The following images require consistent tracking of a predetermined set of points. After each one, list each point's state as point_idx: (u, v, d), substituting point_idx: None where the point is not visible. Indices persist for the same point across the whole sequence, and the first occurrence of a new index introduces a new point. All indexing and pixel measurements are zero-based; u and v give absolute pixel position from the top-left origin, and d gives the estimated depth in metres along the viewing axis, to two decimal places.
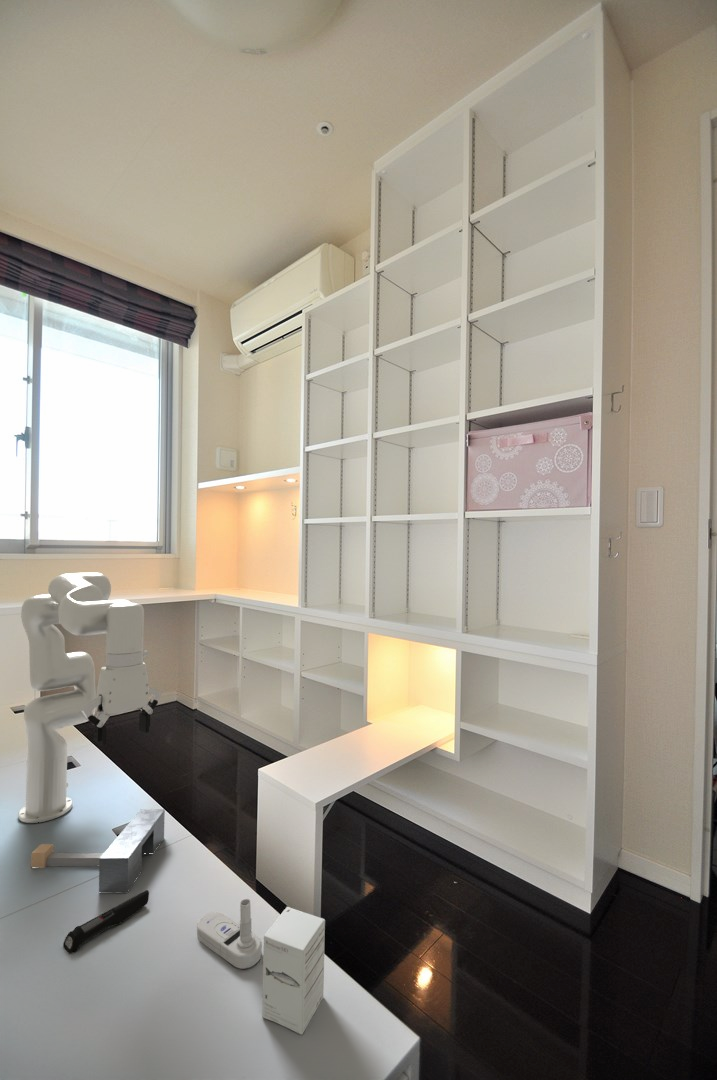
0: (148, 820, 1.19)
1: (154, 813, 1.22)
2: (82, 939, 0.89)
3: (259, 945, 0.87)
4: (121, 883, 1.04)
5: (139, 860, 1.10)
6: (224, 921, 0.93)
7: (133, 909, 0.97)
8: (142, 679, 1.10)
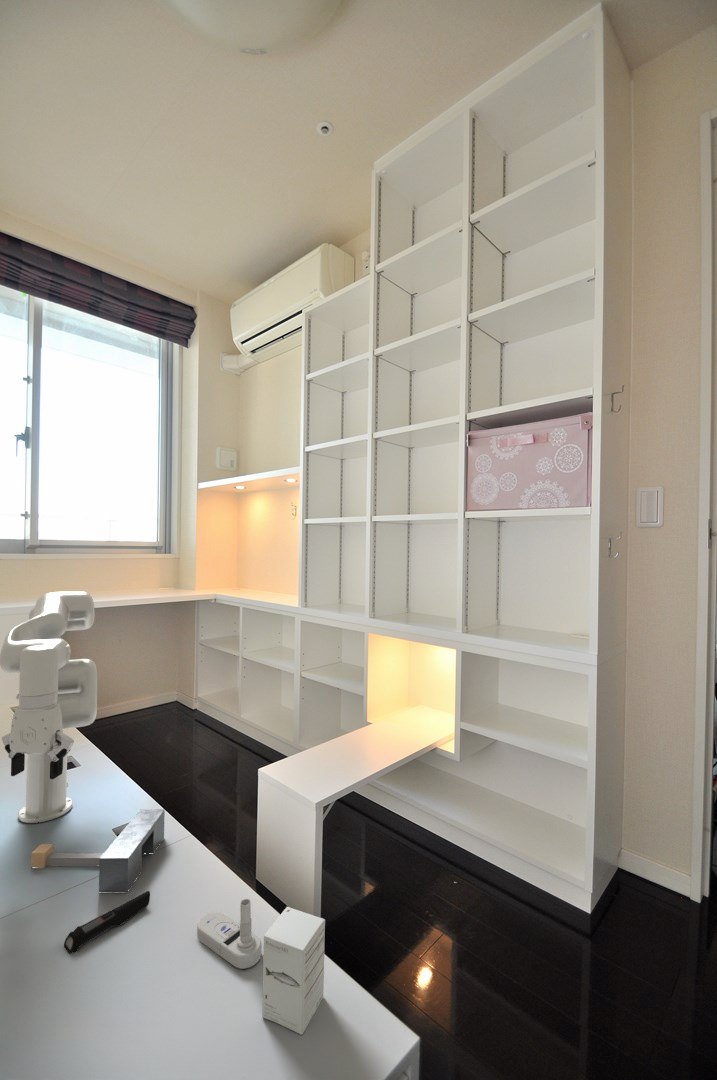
0: (148, 820, 1.19)
1: (154, 813, 1.22)
2: (82, 940, 0.89)
3: (259, 945, 0.87)
4: (121, 883, 1.04)
5: (139, 860, 1.10)
6: (224, 921, 0.93)
7: (134, 910, 0.97)
8: None
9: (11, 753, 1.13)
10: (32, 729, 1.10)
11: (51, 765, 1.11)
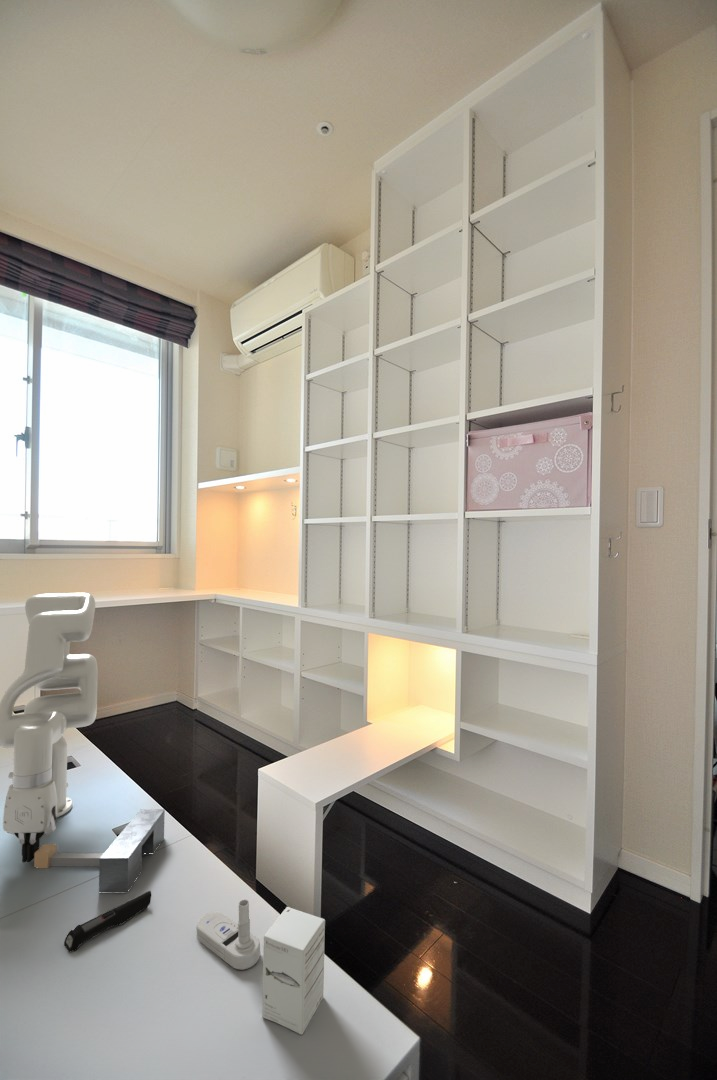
0: (148, 820, 1.19)
1: (154, 813, 1.22)
2: (82, 938, 0.90)
3: (257, 946, 0.87)
4: (121, 883, 1.04)
5: (139, 860, 1.10)
6: (224, 921, 0.93)
7: (135, 910, 0.97)
8: None
9: (20, 839, 1.12)
10: (28, 808, 1.11)
11: (28, 848, 1.12)
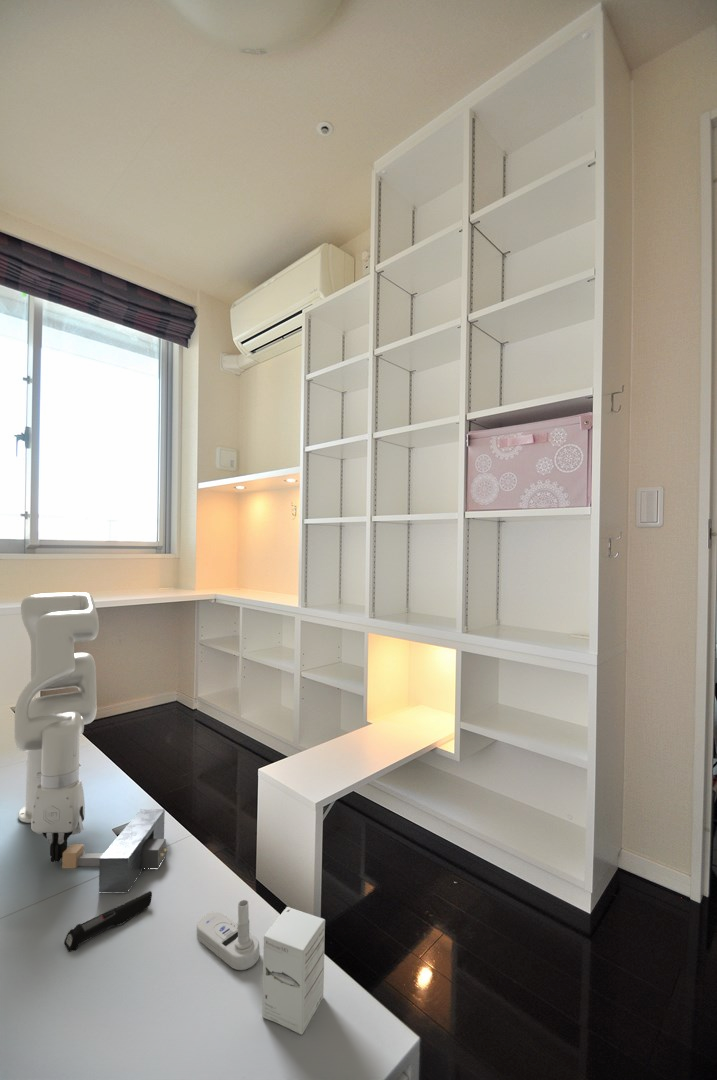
0: (148, 820, 1.19)
1: (154, 813, 1.22)
2: (82, 938, 0.90)
3: (257, 947, 0.87)
4: (121, 883, 1.04)
5: (139, 860, 1.10)
6: (224, 921, 0.93)
7: (135, 910, 0.97)
8: None
9: (48, 839, 1.12)
10: (56, 808, 1.11)
11: (56, 848, 1.12)
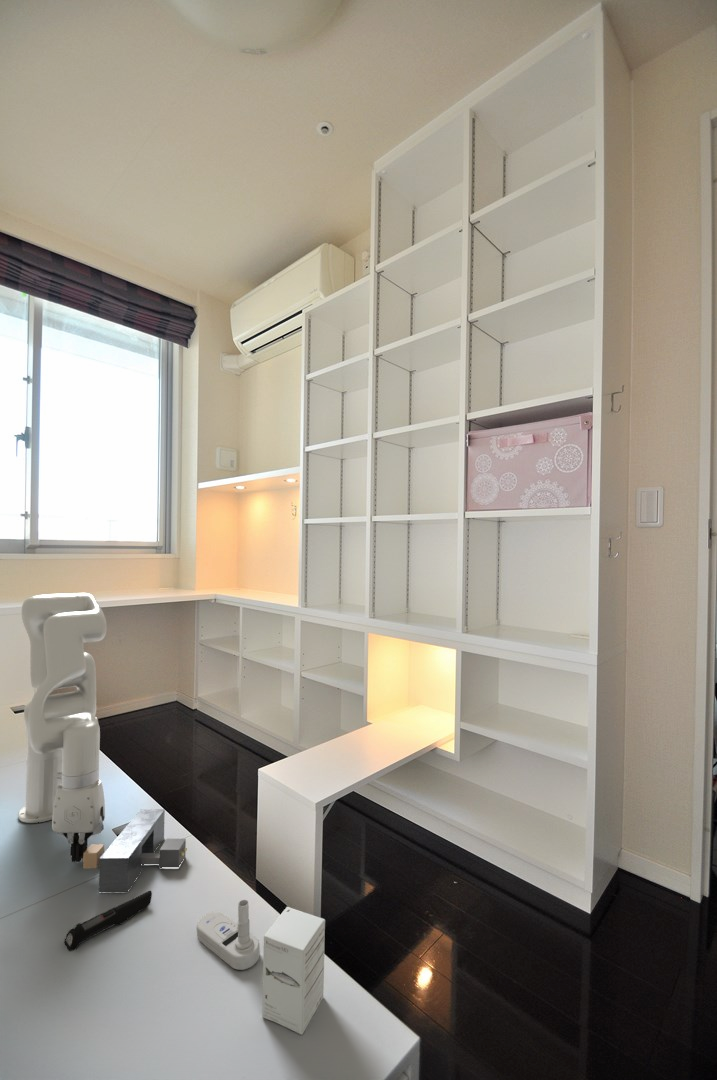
0: (148, 820, 1.19)
1: (154, 813, 1.22)
2: (82, 937, 0.90)
3: (257, 947, 0.87)
4: (121, 883, 1.04)
5: (139, 860, 1.10)
6: (224, 921, 0.93)
7: (135, 909, 0.97)
8: None
9: (69, 839, 1.12)
10: (77, 808, 1.11)
11: (77, 848, 1.12)
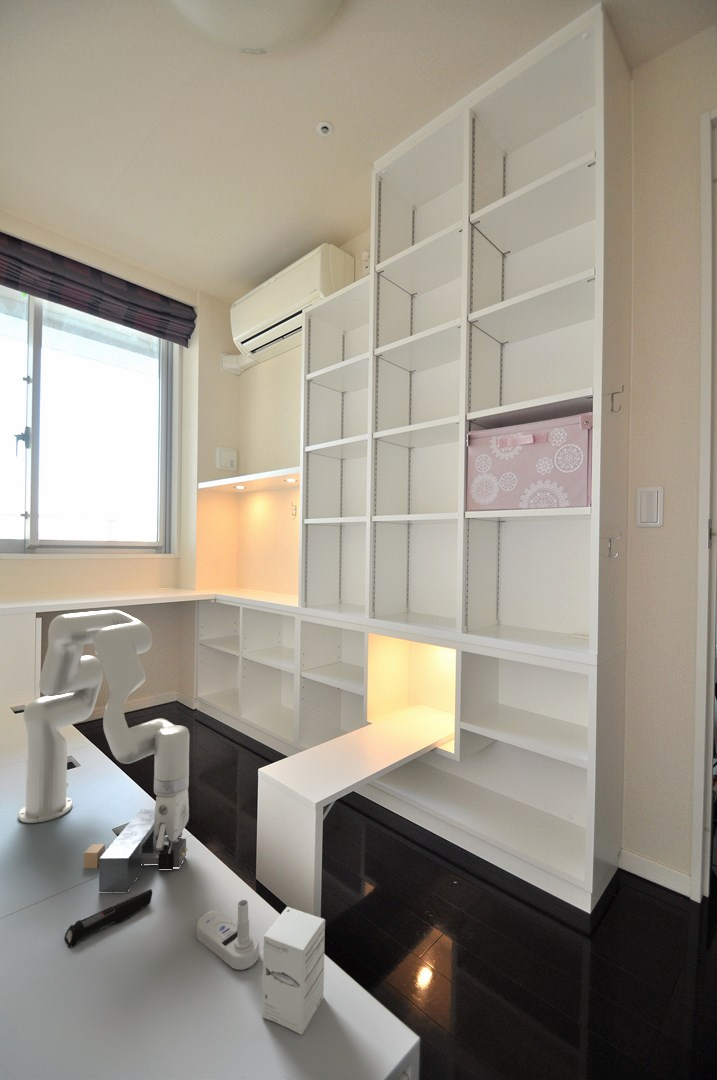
0: (148, 820, 1.19)
1: (154, 813, 1.22)
2: (81, 934, 0.91)
3: (256, 947, 0.87)
4: (121, 883, 1.04)
5: (139, 860, 1.10)
6: (224, 921, 0.93)
7: (135, 908, 0.98)
8: None
9: (171, 848, 1.11)
10: (184, 804, 1.15)
11: None
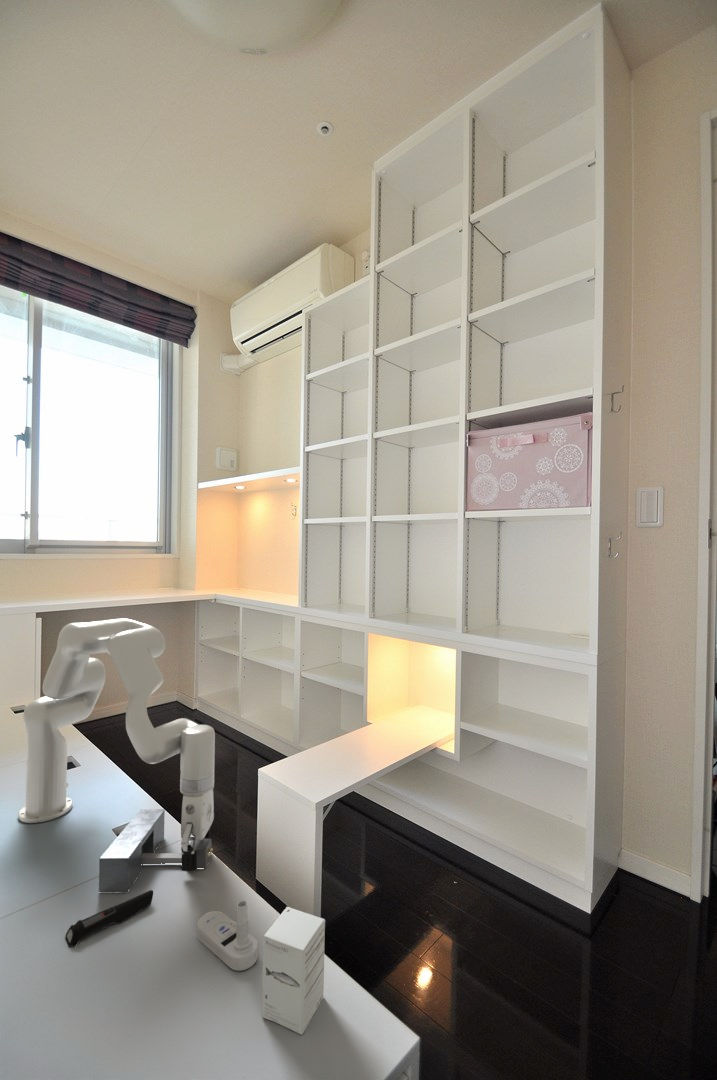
0: (148, 820, 1.19)
1: (154, 813, 1.22)
2: (81, 934, 0.91)
3: (255, 948, 0.86)
4: (121, 883, 1.04)
5: (139, 860, 1.10)
6: (224, 921, 0.93)
7: (136, 908, 0.98)
8: None
9: (194, 848, 1.09)
10: (210, 804, 1.15)
11: (209, 830, 1.19)
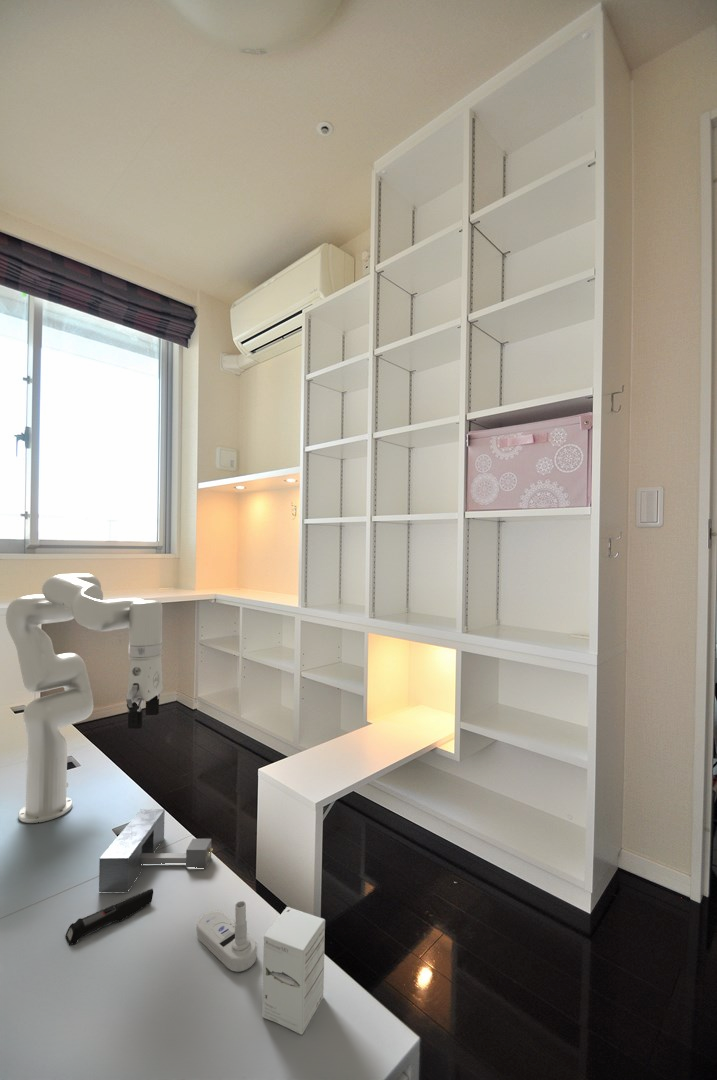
0: (148, 820, 1.19)
1: (154, 813, 1.22)
2: (82, 932, 0.91)
3: (254, 949, 0.86)
4: (121, 883, 1.04)
5: (139, 860, 1.10)
6: (223, 921, 0.93)
7: (136, 907, 0.98)
8: None
9: (140, 706, 1.16)
10: (158, 673, 1.23)
11: (158, 701, 1.26)
